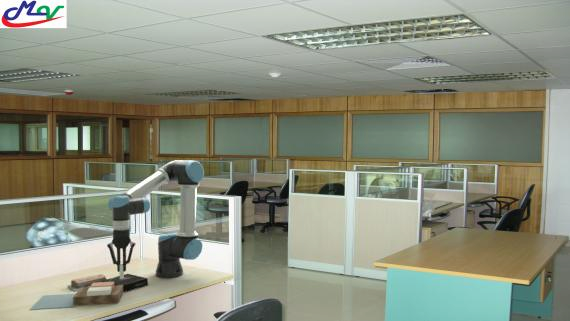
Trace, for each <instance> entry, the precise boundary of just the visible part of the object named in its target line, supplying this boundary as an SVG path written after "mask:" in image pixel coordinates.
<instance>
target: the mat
mask: <svg viewBox="0 0 570 321" xmlns="http://www.w3.org/2000/svg"><path fill="white" fill-rule="evenodd" d="M75 294H76V293H61V294H60V293H59V294H46V295H44V294H43V295H42V296H41V297H40V298H39V299H38V300H37V301H36V302H35V304H33V305H32V306H31V307H30V308H29V311H35V310H36V311H38V310H51V309H67V308H73V307H74V306H73V297H74V295H75Z"/></svg>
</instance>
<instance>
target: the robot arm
mask: <svg viewBox="0 0 570 321" xmlns="http://www.w3.org/2000/svg"><path fill="white" fill-rule="evenodd" d="M204 177H205V170H204V166H203V164H202V163H201V162H199V161H198V160H192V159H191V160H185V159H181V160H180V159H177V160H176V159H175V160H172V161H170V162H168V163H166V164H164V165H162V166H160V167H159V168H157V169H156V170H155V173H153V174H151V175H150V176H148V177H146V178H145V179H144V180H142V181H141V182H139V183H138V184H136V185H135V186H133V187H131V188H129V189H128V190H127V191H125V192H123V193H122V194H120V195H117V196H112V197H110V198H109V200H108V202H107V206H108V209H109V210H110V211H112V229H113V230H112V240H111V242H109V243H107V245H106V247H107V248H108V250H109V253H110V256H111V260H112V264H113V265H116V266H117V267H116V270H117V272H118V273H119V276H120V279H123V278H124V275H125V272H126V271H127V265H128V264H130V262H131V259H132V255H133V250H134V247H136V242H133V241H132V240H131V237H130V234H131V232H130V224H131V222H130V219H131V218H130V216H132V215H138V214H142V215H143V214H145V213H148V212H149V211H150V209H151V203H150V200H149V199H148V198H147V197H146V196H148V195H150V194H152V192H154V191H156V190H157V189H159V188H160V187H161V186H164V185H167V184H169V183H171V182H177V186H178V187H179V188H180V195H179V196H180V197H179V198H180V202H179V203H180V204H179V232H170V233H164V234H161V235H159V236H158V240H157V247H158V248H157V250H158V254H157V255H158V263H157V266H156V269H155V276H156V277H158V278H164V279H167V278H169V279H170V278H176V277H180V276H183V274H184V268H183V265H182V262H181V259H183V260H190V261H193V260H195V259H197V258H198V257H199V256H200V254H202V250H203V242H202V240H201V239H199V233H197V231H196V222H197V219H196V218H197V217H196V216H197V188H198V187H199V186H200V182H202V181H203V178H204ZM128 246H129V247H130V248H129V252H128V256H127V247H128ZM114 247H115V248H116V255H115V250H114ZM121 251H122V257H121ZM121 258H122V262H121Z"/></svg>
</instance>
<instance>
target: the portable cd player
mask: <svg viewBox="0 0 570 321" xmlns="http://www.w3.org/2000/svg"><path fill="white" fill-rule="evenodd" d="M101 282H114V286H117V285H123V294H125V293H127V292H130V291H132V290H136V289H139V288H142V287H146V286H148V285H149V279H148V277H144V276H139V275H135V274H131V273H124V278H123V279H120V275H118V276H114V277H110V278H106V280H103V281H101Z"/></svg>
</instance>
